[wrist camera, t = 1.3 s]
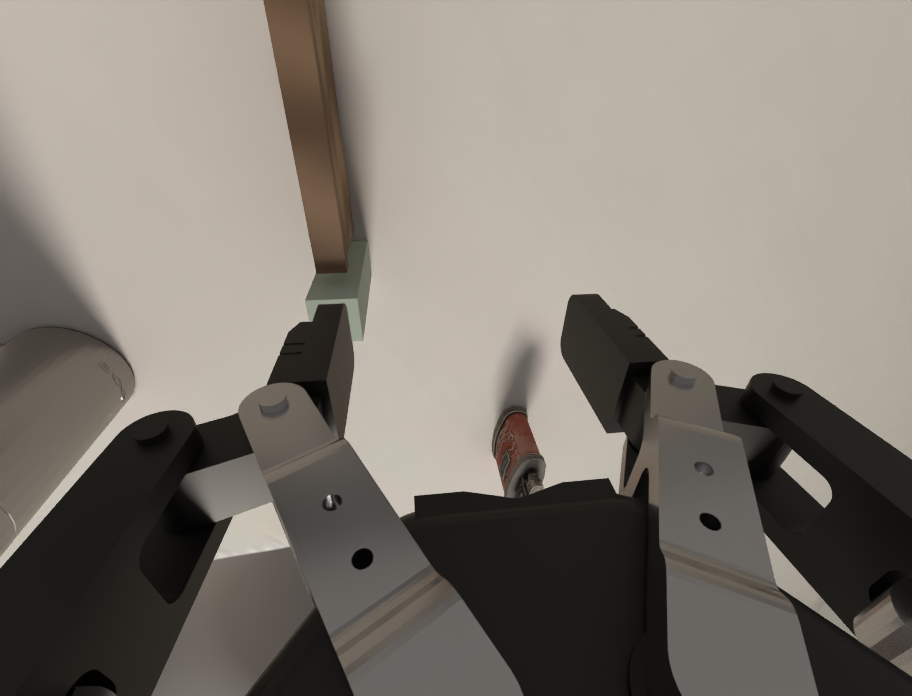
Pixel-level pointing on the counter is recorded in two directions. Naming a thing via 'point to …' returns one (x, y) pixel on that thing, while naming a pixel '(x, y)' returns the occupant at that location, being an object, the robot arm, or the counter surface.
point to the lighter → (517, 454)
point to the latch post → (345, 289)
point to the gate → (313, 126)
